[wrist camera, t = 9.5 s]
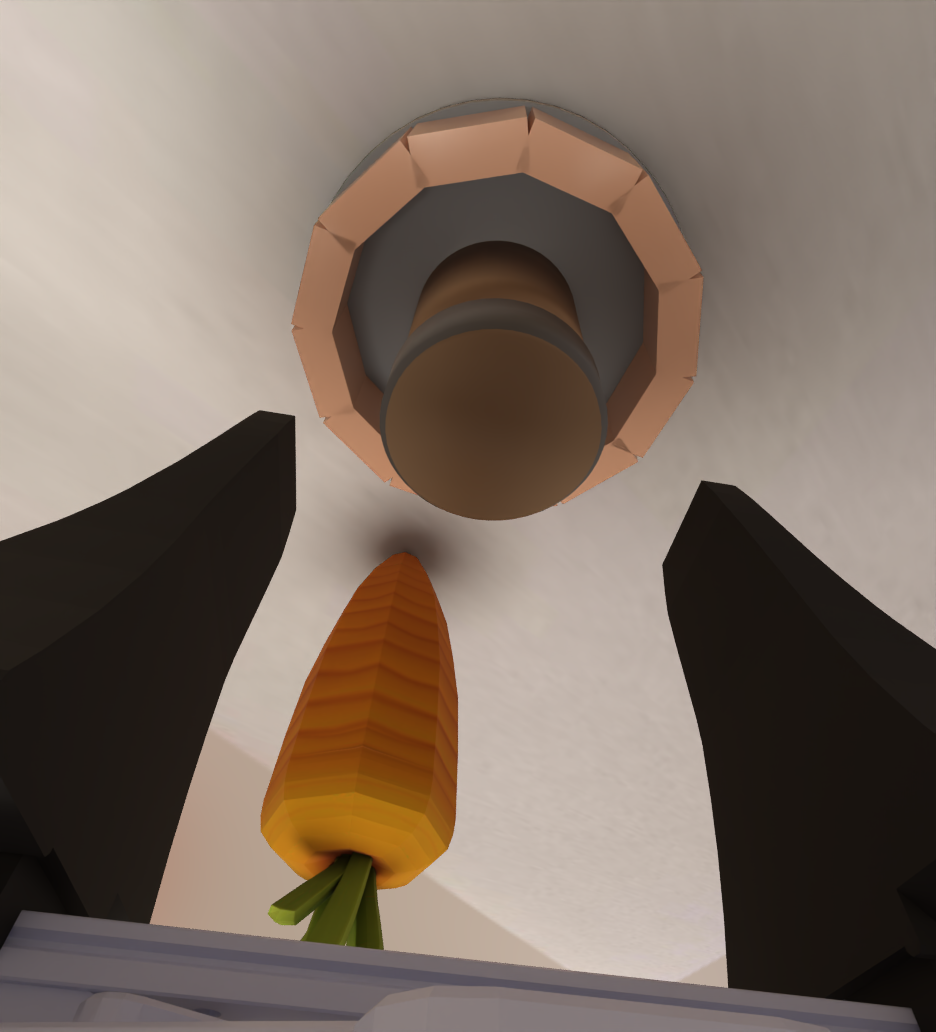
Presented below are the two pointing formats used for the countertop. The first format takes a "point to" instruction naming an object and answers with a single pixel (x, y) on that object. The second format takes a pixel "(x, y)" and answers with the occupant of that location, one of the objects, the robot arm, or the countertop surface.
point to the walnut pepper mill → (494, 388)
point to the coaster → (501, 217)
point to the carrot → (368, 759)
